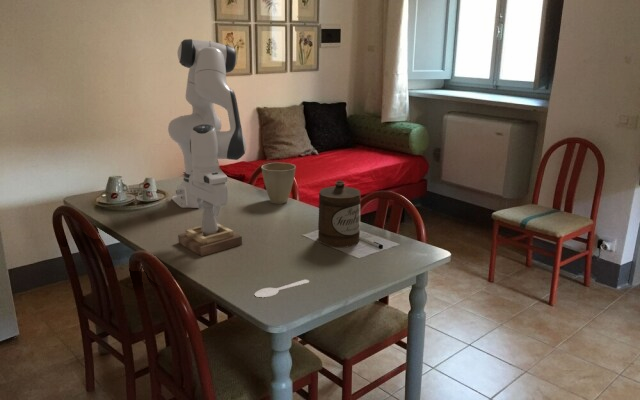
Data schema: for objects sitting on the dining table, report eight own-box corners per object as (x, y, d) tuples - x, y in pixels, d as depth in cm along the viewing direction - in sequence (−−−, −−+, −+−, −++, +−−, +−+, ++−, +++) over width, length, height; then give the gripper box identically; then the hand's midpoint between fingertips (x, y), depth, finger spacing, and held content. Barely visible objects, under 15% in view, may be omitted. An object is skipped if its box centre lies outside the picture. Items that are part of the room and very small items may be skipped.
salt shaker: (206, 239, 180) (204, 203, 177) (198, 235, 185) (196, 199, 181) (221, 235, 184) (219, 200, 180) (213, 231, 188) (211, 196, 184)
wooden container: (341, 251, 180) (342, 189, 173) (309, 240, 189) (309, 181, 183) (367, 239, 190) (369, 180, 184) (336, 229, 200) (337, 173, 193)
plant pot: (256, 204, 230) (255, 168, 225) (271, 195, 243) (270, 161, 238) (287, 208, 224) (286, 171, 220) (301, 198, 238) (301, 164, 233)
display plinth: (178, 242, 186) (177, 229, 184) (218, 232, 196) (217, 219, 195) (201, 256, 174) (200, 242, 173) (242, 244, 185) (241, 231, 183)
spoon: (313, 284, 155) (313, 283, 155) (259, 300, 146) (259, 299, 146) (304, 278, 160) (304, 276, 159) (250, 293, 150) (250, 291, 150)
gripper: (182, 169, 183) (185, 207, 187) (213, 181, 169) (215, 221, 173) (199, 166, 187) (201, 203, 191) (230, 177, 173) (232, 217, 177)
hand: (208, 212), depth 182 cm, fingers open, 8 cm apart
